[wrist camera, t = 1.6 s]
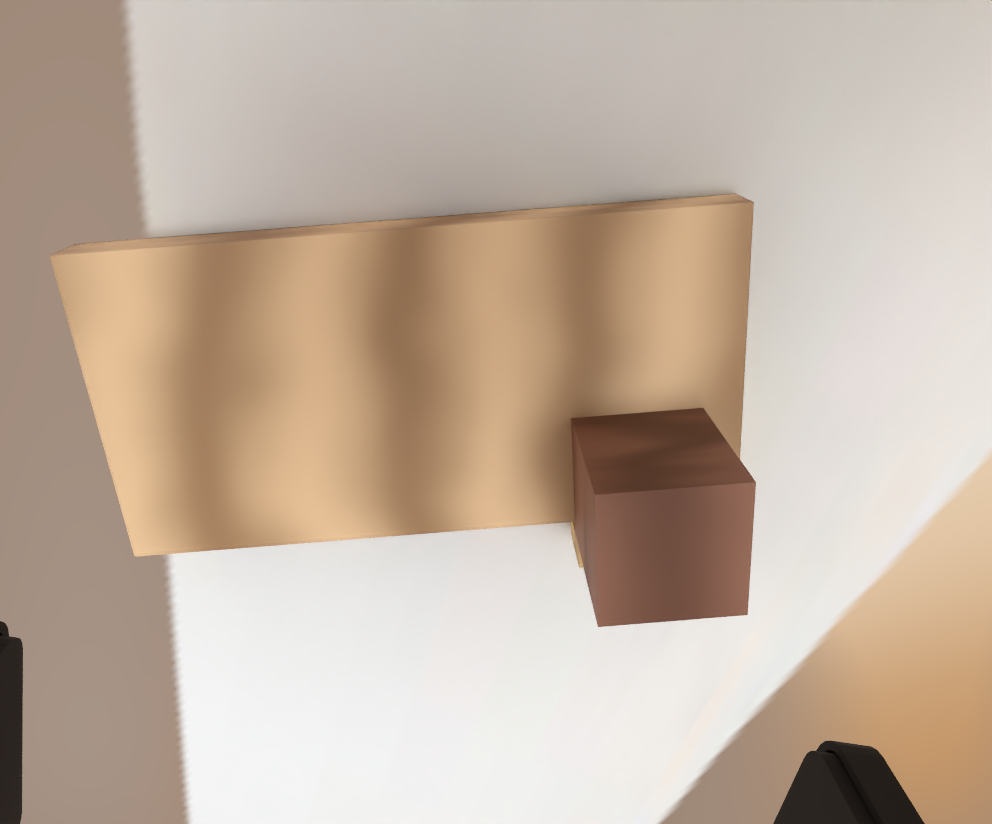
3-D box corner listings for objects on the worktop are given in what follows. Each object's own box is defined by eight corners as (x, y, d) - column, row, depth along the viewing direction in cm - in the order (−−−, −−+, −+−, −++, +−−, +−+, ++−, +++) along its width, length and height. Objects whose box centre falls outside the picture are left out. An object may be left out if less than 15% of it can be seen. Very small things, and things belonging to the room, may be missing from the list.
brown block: (692, 393, 32) (755, 482, 25) (689, 524, 35) (745, 639, 28) (566, 402, 32) (594, 494, 25) (571, 534, 35) (598, 650, 28)
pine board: (735, 193, 30) (753, 202, 28) (722, 485, 34) (737, 508, 33) (75, 244, 30) (49, 255, 28) (152, 530, 34) (134, 556, 32)
